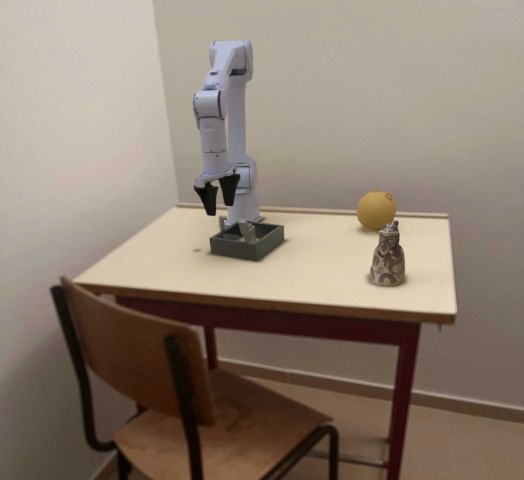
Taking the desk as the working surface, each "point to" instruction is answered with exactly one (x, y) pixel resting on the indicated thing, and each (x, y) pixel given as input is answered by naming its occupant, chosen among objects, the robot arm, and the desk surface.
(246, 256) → the sink
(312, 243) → the desk surface
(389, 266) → the figurine
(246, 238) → the lighter
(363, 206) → the stress ball
